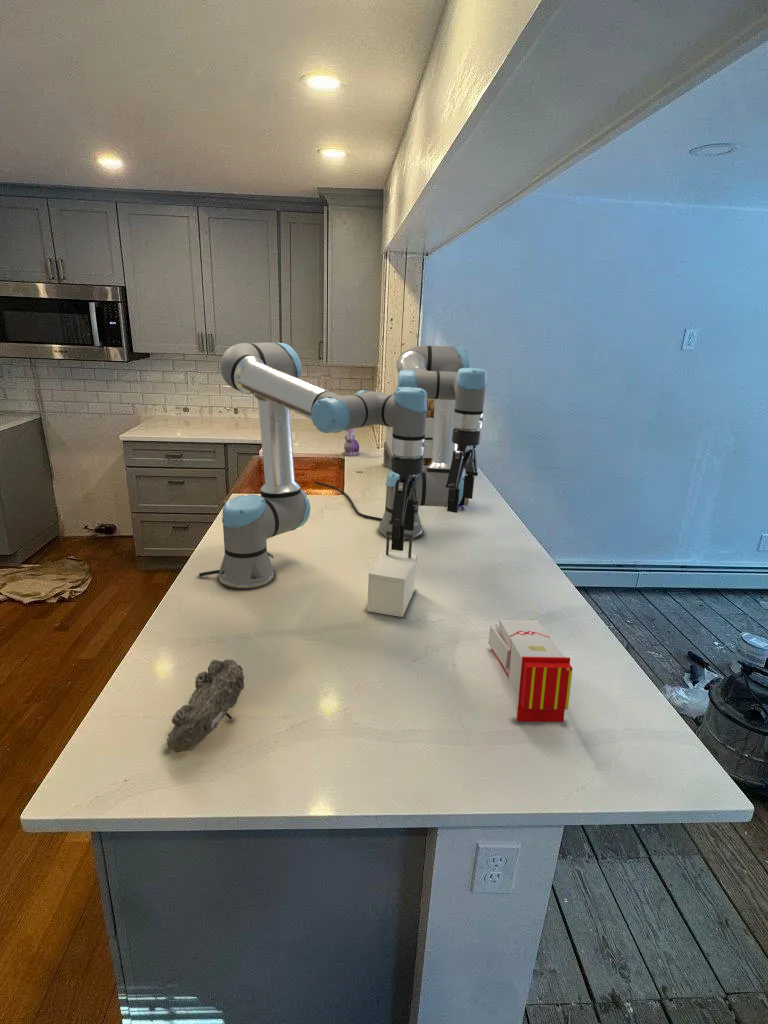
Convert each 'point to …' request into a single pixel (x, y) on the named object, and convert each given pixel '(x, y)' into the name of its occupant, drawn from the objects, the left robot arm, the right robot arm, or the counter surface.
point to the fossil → (206, 705)
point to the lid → (394, 562)
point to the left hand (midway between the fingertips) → (402, 539)
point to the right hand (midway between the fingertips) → (460, 504)
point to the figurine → (351, 443)
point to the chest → (390, 595)
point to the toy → (533, 669)
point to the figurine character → (463, 502)
